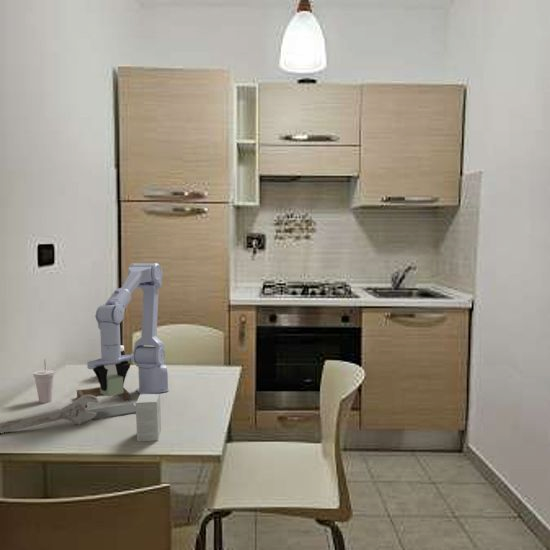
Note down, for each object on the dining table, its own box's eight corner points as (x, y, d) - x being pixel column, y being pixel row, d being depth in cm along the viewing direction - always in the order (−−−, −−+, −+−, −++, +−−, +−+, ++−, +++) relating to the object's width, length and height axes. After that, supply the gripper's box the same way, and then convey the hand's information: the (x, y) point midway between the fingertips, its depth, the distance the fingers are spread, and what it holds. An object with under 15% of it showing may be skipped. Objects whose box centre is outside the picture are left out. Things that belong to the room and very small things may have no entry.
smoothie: (48, 404, 185) (46, 361, 184) (30, 403, 187) (28, 361, 186) (59, 399, 192) (57, 357, 191) (42, 398, 193) (40, 356, 192)
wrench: (-11, 443, 160) (101, 418, 169) (-12, 446, 158) (102, 420, 167) (-16, 416, 159) (97, 392, 168) (-17, 418, 157) (97, 393, 166)
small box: (140, 431, 159) (139, 393, 158) (161, 430, 160) (160, 393, 159) (136, 442, 151) (135, 402, 150) (158, 441, 152) (156, 401, 151)
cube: (115, 389, 180) (114, 374, 179) (123, 392, 176) (123, 376, 176) (100, 393, 176) (99, 377, 176) (108, 396, 173) (107, 379, 172)
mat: (132, 404, 184) (132, 403, 184) (139, 412, 176) (139, 410, 176) (86, 411, 177) (86, 410, 177) (92, 420, 169) (92, 418, 169)
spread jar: (122, 380, 214) (121, 349, 214) (92, 380, 215) (90, 349, 214) (130, 372, 226) (129, 343, 226) (102, 372, 227) (100, 343, 226)
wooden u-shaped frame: (120, 391, 200) (120, 384, 199) (129, 400, 189) (128, 392, 189) (77, 397, 193) (76, 390, 193) (83, 407, 182) (82, 399, 182)
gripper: (125, 339, 183) (126, 381, 184) (81, 345, 173) (83, 390, 174) (137, 341, 178) (138, 385, 179) (93, 349, 168) (94, 395, 169)
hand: (112, 388), depth 176 cm, fingers closed on cube, 5 cm apart
